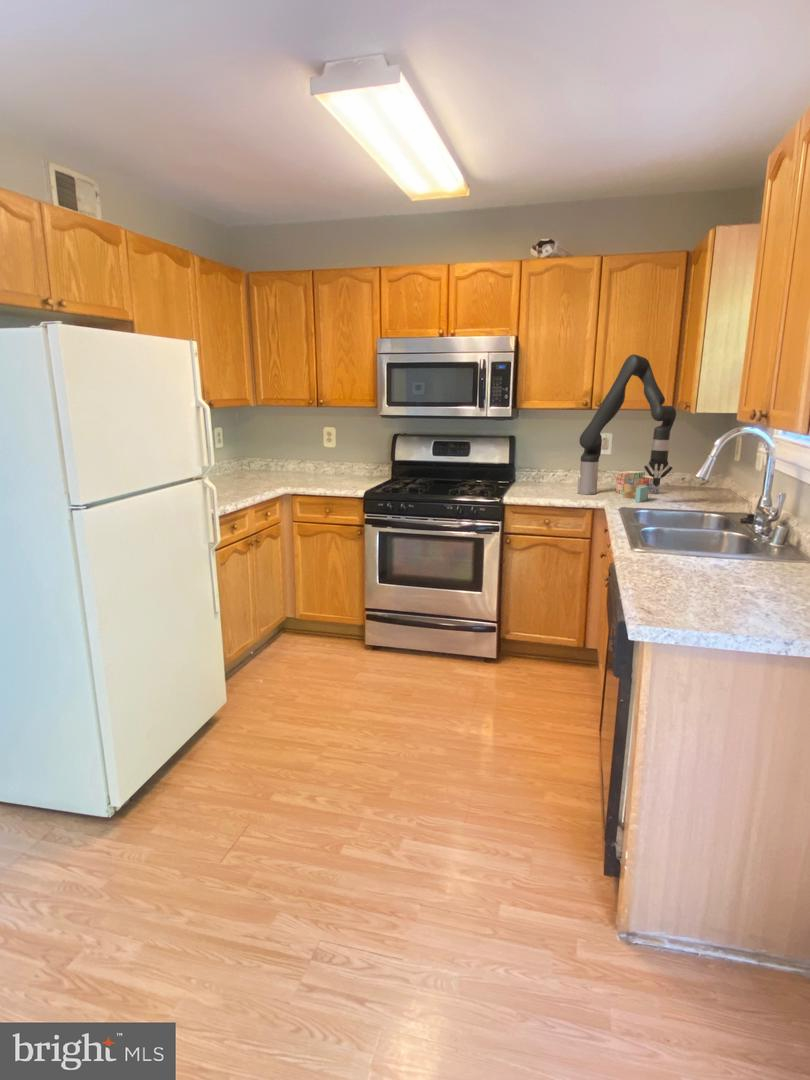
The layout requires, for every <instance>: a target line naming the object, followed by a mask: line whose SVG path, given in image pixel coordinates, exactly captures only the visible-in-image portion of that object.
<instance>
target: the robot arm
mask: <svg viewBox="0 0 810 1080" xmlns="http://www.w3.org/2000/svg"><path fill="white" fill-rule="evenodd" d="M632 376H634V377H637V378H638V379H639V380H640V381H641V382H642V385H643V395H644V397H645V399H646V400H647V404H649V409H650V413H651V418H652V419H653V420H654V421H656V422H661V424H660V425H659V426H655V427H654V429H653V430H654V431H653V436H652V442H651V451H650V460H649V461H648V463H647V464H645V465H644V466H643V468H644V469H645V472H647V474H648V476H651V477H653V485H654V486H658V485H659V486H660V485H661V479H662V478H665V477H666V476H667V475H668V474H669V473H670V472H671V471H672V470H673V467H672V466H671V465H669V461H668V460H669V459H668V458H669V451H670V439H671V438H670V435H671V430H672V428H673V426H674V422H675V420H676V417H677V410H676V408H675V407H674V406H673V405H664V403H665V402H666V399H665V396H664V394H663V392H662V390H661V388H660V387H659V385H658V383H657V381H656V378H655V376H654V373H653V369H652V366H651V364H650V362H649V359H647V358H646V357H643V356H641V355H637V354H631V355H629V356H628V357H627V358H625V360H624V361H623V364H622V366H621V368H620V370H619V372H618V374H617V376H616V378H615V379H614V382H613V384H612V386H611V387H610V389H609V390H608V392H607V394H606V396H605V397H604V399H603V400H602V402H601V403H600V405H599V407H598V409H597V410H596V413H595V414H594V416H593V418H592V419H591V421H590V422H589V424H588V425H587V427H586V428H585V429H584V430H583V432H582V433H581V434H580V436H579V445H580V447H582V449H583V453H582V455H580V464H579V465H580V466H579V467H580V468H579V475H578V477H577V478H578V479H577V494H580V495H589V496H591V495H597V491H598V479H599V478H598V477H599V466H600V465H599V463H600V461H599V460H600V457H601V454H602V446H603V445H602V442H603V438H602V434H601V433H602V430H603V429H604V427H606V425H608V423H610V422H611V420H613V418H615V416H616V415H617V413H619V412H620V409H621V408H622V406H623V404H624V402H625V398H626V388H627V384H628V383H629V381H630V380H631V377H632ZM651 469H652V471H651ZM663 471H664V472H663Z"/></svg>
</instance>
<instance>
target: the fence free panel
mask: <svg viewBox="0 0 810 1080" xmlns="http://www.w3.org/2000/svg"><path fill="white" fill-rule="evenodd" d="M648 487H649V486H642V487H638V488H636V499H634V501H635V503H642V502H645V501H648V500H647V499H649V498H648V497H649V494H648Z"/></svg>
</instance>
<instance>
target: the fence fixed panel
mask: <svg viewBox="0 0 810 1080" xmlns="http://www.w3.org/2000/svg"><path fill="white" fill-rule="evenodd" d="M642 486H644V485H632V484H624V489H623V495H622V498H623V499H631V500H633V499H634V500H635V499H636V488H638V487H642ZM646 486H649V484H646ZM648 490H649V487H648ZM648 499H649V498H648ZM648 499H647V500H646V501H648Z"/></svg>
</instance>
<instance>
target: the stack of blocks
mask: <svg viewBox="0 0 810 1080" xmlns="http://www.w3.org/2000/svg"><path fill="white" fill-rule="evenodd" d="M645 472H646V471H641V470H640V471H639V470H632V471H631V470H629V471H617V473H616V485H615V486H616V487H615V488H616V489H615V490H616V491H615V494H618V495H622V496H623V489H624V484H632V485H644V486H646V484H649V490H648V495H658V494H659V487H660V484H659V485H658V486H654V485H653V477H651V476H650V475H646V473H645Z"/></svg>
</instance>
